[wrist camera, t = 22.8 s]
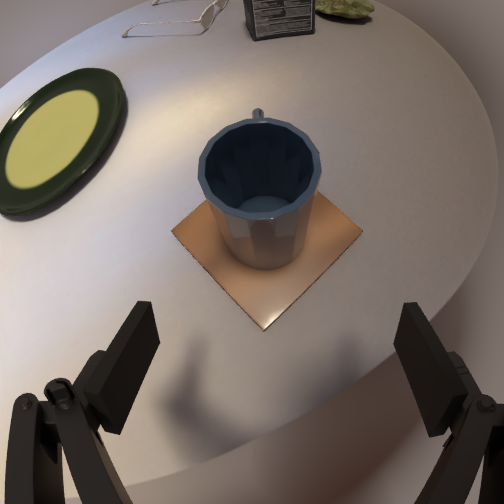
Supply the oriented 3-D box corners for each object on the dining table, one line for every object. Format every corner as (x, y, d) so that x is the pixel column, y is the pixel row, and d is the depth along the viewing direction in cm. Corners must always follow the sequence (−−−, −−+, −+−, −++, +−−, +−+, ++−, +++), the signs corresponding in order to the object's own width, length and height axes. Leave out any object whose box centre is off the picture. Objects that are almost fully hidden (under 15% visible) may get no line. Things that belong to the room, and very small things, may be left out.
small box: (303, 16, 46) (303, -31, 36) (315, 34, 43) (318, -18, 34) (245, 24, 46) (238, -25, 36) (253, 42, 44) (247, -12, 34)
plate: (26, 97, 46) (20, 89, 44) (148, 62, 44) (143, 52, 42) (-25, 226, 38) (-35, 220, 35) (103, 215, 35) (93, 207, 33)
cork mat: (361, 233, 32) (363, 230, 32) (264, 331, 30) (263, 330, 29) (267, 153, 36) (266, 149, 35) (172, 233, 34) (170, 230, 33)
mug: (310, 268, 31) (327, 216, 19) (224, 272, 31) (194, 223, 20) (300, 167, 34) (307, 88, 23) (225, 171, 35) (204, 94, 24)
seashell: (316, -10, 47) (353, -30, 38) (341, 11, 51) (379, -5, 42) (306, 17, 46) (347, -4, 37) (334, 40, 50) (375, 24, 42)
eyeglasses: (203, 36, 45) (199, 18, 41) (119, 40, 48) (112, 25, 44) (231, -2, 50) (229, -17, 46) (154, 2, 52) (150, -11, 49)
